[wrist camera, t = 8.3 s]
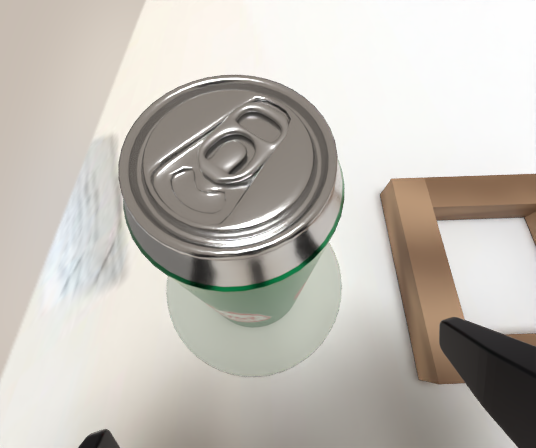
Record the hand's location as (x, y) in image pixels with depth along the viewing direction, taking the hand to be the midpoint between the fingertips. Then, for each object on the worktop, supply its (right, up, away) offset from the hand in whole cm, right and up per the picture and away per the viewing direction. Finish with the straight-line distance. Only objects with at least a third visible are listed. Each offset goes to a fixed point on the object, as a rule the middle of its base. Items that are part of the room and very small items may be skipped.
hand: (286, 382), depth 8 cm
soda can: (-1, +1, +9) cm, 9 cm away
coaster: (-1, +1, +10) cm, 10 cm away
